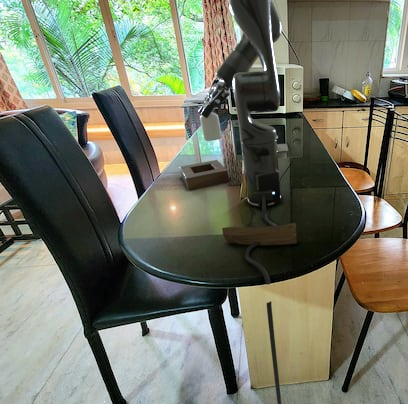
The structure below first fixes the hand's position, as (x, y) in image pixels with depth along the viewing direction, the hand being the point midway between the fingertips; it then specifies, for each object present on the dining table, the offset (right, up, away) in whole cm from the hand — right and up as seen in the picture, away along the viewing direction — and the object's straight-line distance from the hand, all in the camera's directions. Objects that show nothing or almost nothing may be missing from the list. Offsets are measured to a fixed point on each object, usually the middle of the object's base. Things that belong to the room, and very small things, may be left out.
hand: (202, 115), depth 89 cm
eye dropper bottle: (+2, -7, +5) cm, 8 cm away
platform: (+17, -3, +39) cm, 42 cm away
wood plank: (+22, -37, -27) cm, 51 cm away
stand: (-2, -20, +8) cm, 21 cm away
